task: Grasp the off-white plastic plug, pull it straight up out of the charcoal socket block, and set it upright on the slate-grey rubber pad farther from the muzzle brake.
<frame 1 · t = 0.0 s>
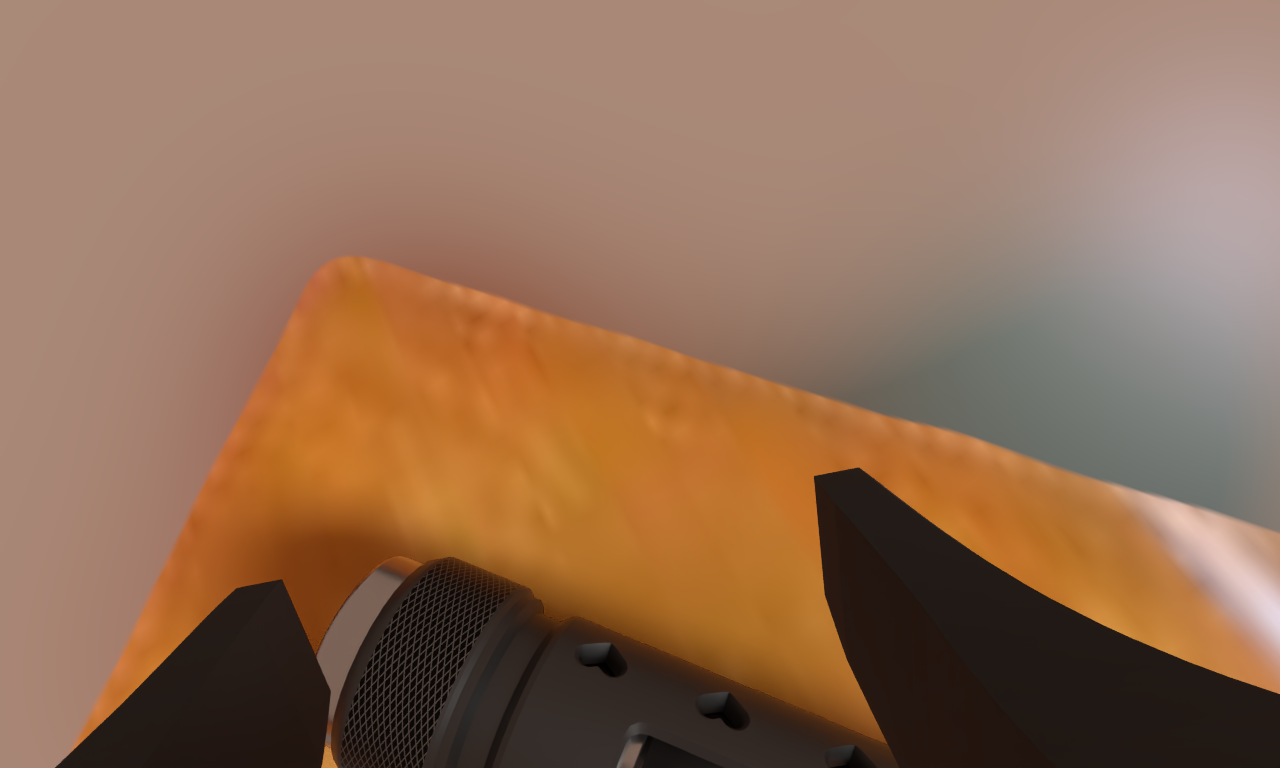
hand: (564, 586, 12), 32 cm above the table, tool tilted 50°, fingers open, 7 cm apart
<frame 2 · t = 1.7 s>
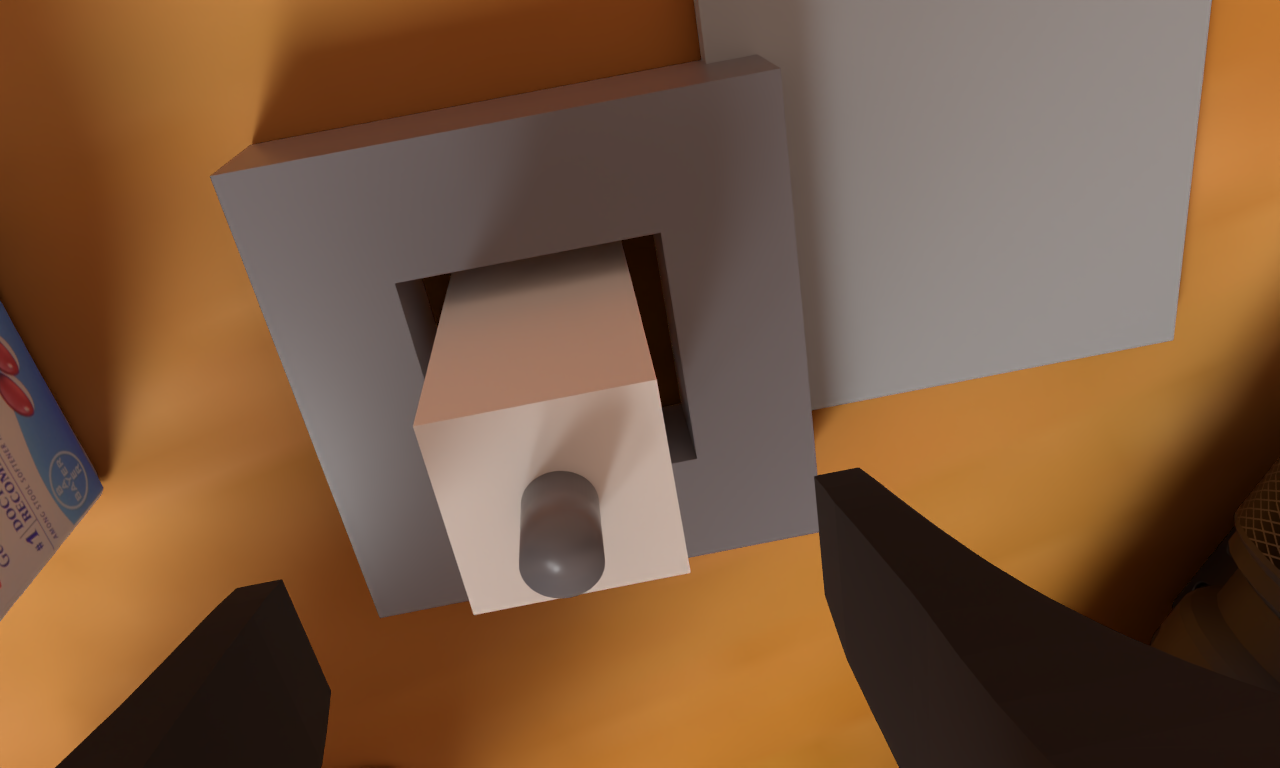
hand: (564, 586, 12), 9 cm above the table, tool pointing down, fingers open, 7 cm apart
socket block: (553, 327, 20), on the table
muzzle brake: (1092, 711, 28), on the table
plug: (557, 418, 17), in the socket block
rubber pad: (950, 162, 20), on the table
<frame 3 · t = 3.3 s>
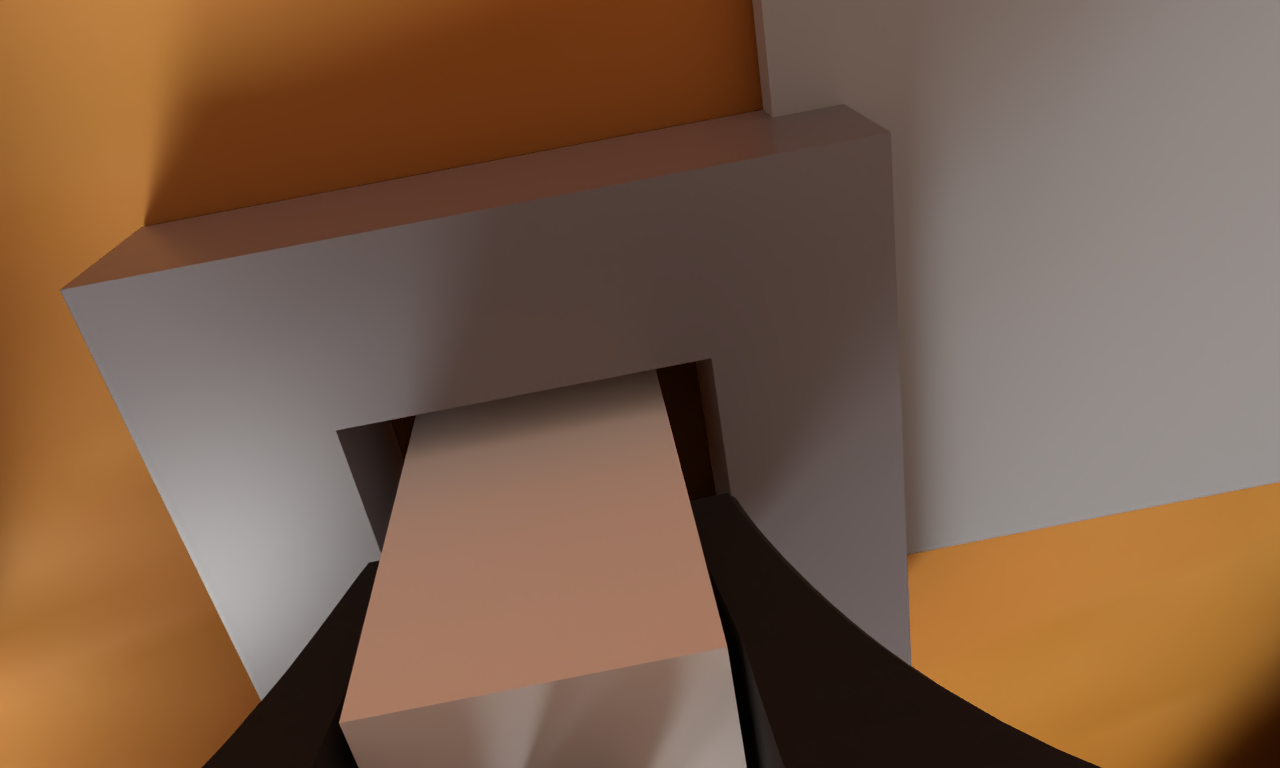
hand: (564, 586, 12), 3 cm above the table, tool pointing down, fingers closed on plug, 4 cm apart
socket block: (559, 455, 15), on the table
plug: (565, 627, 12), in the socket block, touching gripper
rubber pad: (1091, 242, 15), on the table
when the fingers open (5 cm above the table, at t = 7.8 s): plug stays where it is, resting on rubber pad.
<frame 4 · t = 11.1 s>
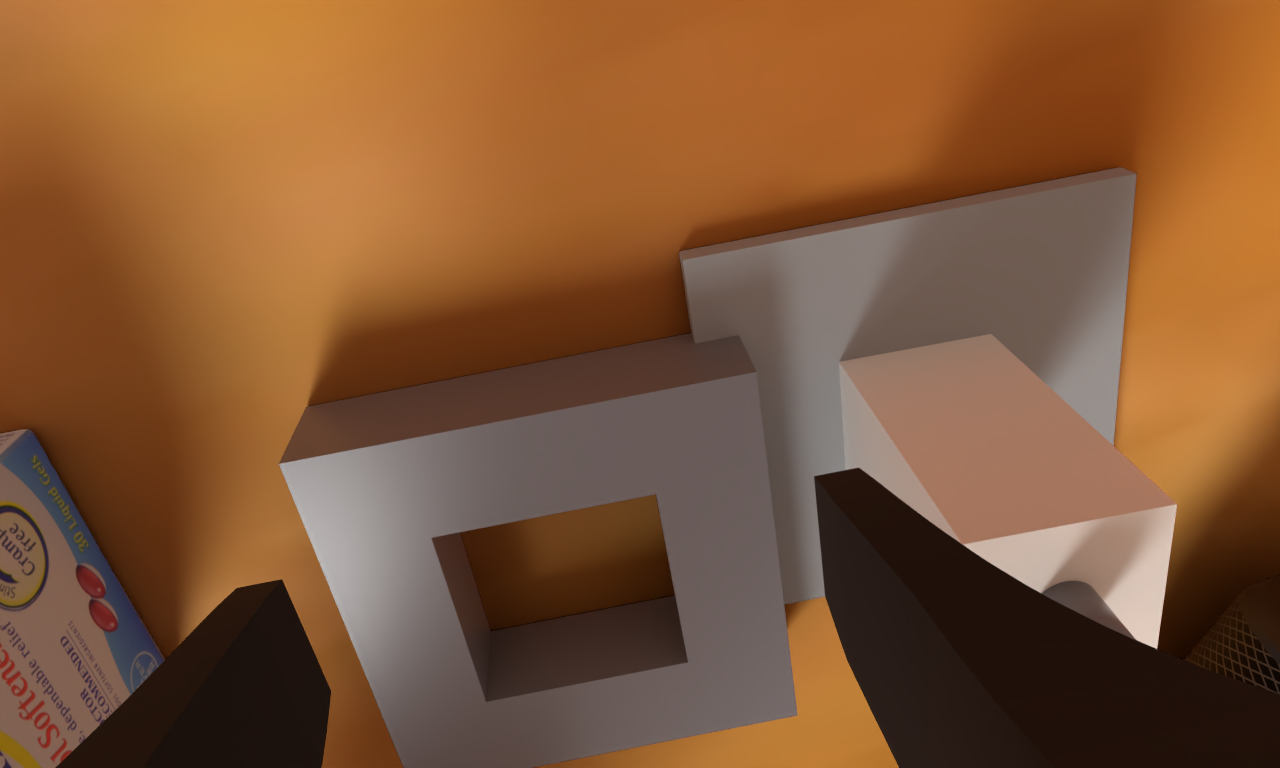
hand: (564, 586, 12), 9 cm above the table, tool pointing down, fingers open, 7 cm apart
medicine box: (28, 568, 23), on the table
socket block: (564, 538, 23), on the table
plug: (993, 516, 18), on the rubber pad, point 5 cm above the table
rubber pad: (907, 404, 23), on the table
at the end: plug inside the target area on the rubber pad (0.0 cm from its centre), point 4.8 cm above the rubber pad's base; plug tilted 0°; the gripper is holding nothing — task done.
